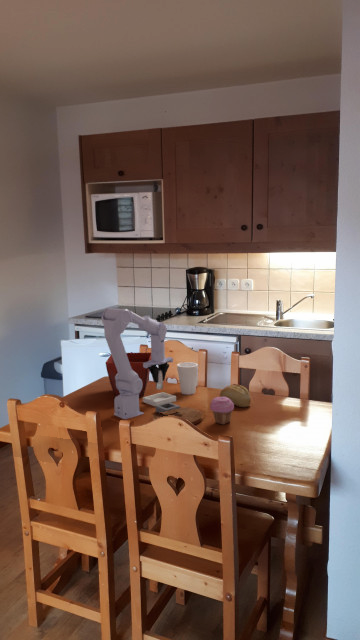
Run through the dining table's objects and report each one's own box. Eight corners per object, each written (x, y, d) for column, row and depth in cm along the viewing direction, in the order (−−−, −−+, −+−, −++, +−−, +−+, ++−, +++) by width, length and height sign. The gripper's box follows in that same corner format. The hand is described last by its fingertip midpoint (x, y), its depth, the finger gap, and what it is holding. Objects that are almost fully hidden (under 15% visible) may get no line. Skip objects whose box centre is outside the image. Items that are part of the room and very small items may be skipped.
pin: (158, 389, 217) (157, 371, 216) (154, 388, 219) (154, 369, 218) (164, 388, 219) (163, 370, 217) (160, 386, 221) (159, 368, 220)
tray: (155, 407, 213) (155, 402, 213) (143, 402, 220) (142, 397, 219) (176, 401, 220) (176, 396, 220) (163, 397, 227) (163, 392, 226)
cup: (166, 417, 201) (166, 409, 201) (155, 412, 207) (155, 405, 206) (180, 412, 206) (179, 405, 205) (169, 408, 211) (168, 401, 211)
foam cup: (199, 389, 237) (198, 362, 235) (197, 395, 228) (197, 367, 226) (178, 389, 238) (178, 362, 236) (176, 395, 229) (175, 367, 227)
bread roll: (229, 397, 224) (229, 379, 223) (256, 404, 214) (256, 386, 212) (214, 402, 218) (214, 384, 217) (242, 410, 207) (241, 391, 206)
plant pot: (150, 399, 225) (148, 361, 222) (106, 399, 225) (105, 362, 223) (153, 386, 244) (152, 352, 241) (113, 387, 244) (111, 353, 242)
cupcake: (224, 428, 188) (224, 402, 186) (206, 423, 193) (205, 397, 192) (238, 421, 194) (238, 396, 193) (220, 416, 200) (219, 392, 199)
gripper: (149, 354, 209) (151, 386, 211) (177, 348, 218) (178, 379, 220) (139, 351, 214) (141, 383, 216) (166, 346, 223) (167, 376, 225)
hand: (159, 381), depth 218 cm, fingers closed on pin, 3 cm apart
